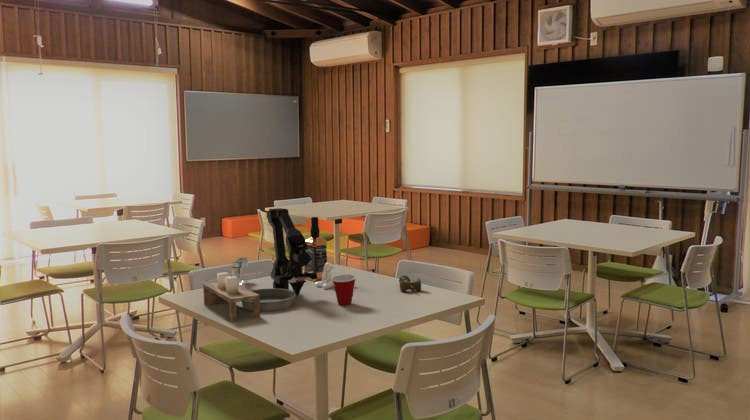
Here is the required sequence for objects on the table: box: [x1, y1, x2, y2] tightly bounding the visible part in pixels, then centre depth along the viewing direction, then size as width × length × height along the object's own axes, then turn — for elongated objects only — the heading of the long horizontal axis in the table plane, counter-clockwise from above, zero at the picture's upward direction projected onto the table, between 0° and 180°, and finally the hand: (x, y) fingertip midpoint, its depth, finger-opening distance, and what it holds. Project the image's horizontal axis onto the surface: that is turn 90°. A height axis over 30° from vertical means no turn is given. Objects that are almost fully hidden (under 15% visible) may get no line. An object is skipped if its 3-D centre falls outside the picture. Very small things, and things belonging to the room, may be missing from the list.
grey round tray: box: [241, 287, 296, 312], centre depth 274 cm, size 25×25×4 cm
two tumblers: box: [216, 271, 238, 293], centre depth 263 cm, size 5×15×6 cm, turn 33°
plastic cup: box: [331, 273, 357, 306], centre depth 273 cm, size 11×11×12 cm
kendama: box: [398, 275, 422, 293], centre depth 299 cm, size 6×10×20 cm
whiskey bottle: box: [303, 216, 328, 282], centre depth 325 cm, size 10×10×32 cm
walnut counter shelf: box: [202, 282, 261, 323], centre depth 265 cm, size 12×33×9 cm, turn 33°
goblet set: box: [230, 257, 249, 288], centre depth 310 cm, size 28×6×13 cm, turn 5°
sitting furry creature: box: [314, 262, 334, 290], centre depth 306 cm, size 10×9×12 cm
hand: (296, 296), depth 282 cm, fingers closed
